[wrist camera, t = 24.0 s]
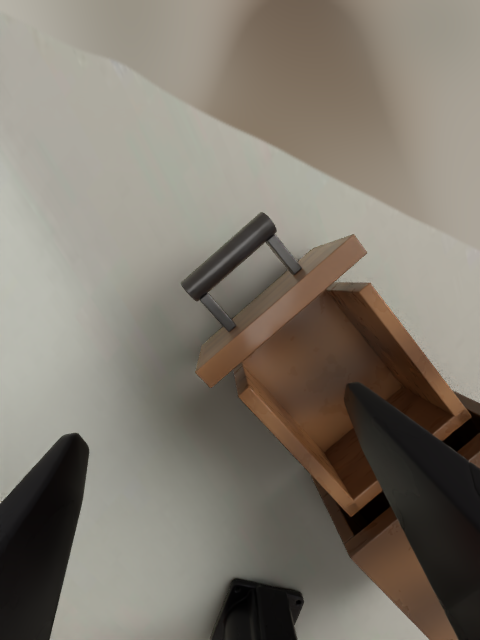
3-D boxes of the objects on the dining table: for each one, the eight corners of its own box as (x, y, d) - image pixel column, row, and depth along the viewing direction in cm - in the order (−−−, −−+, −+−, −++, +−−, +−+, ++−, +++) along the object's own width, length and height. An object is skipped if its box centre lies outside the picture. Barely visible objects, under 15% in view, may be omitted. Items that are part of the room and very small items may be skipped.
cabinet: (305, 466, 23) (350, 558, 15) (416, 373, 22) (517, 420, 15) (400, 567, 25) (479, 691, 17) (502, 483, 24) (629, 574, 17)
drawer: (162, 304, 19) (138, 314, 13) (278, 202, 19) (304, 167, 13) (309, 462, 22) (343, 528, 16) (413, 375, 21) (485, 410, 16)
